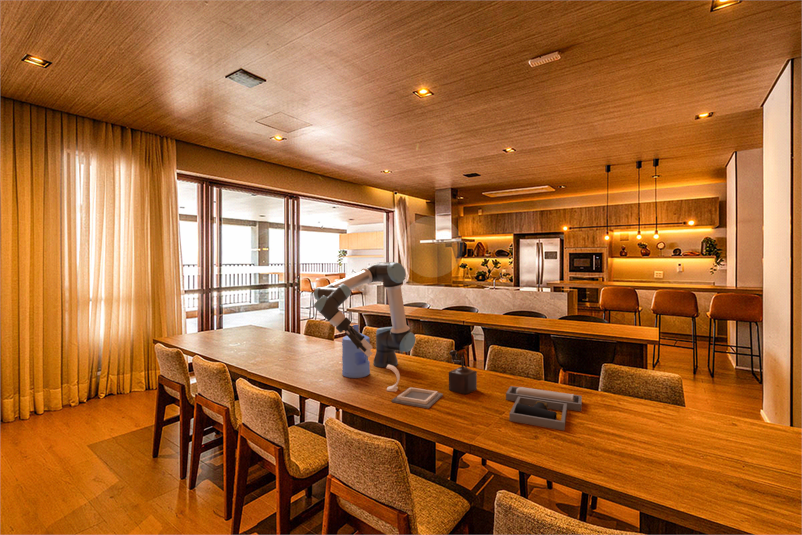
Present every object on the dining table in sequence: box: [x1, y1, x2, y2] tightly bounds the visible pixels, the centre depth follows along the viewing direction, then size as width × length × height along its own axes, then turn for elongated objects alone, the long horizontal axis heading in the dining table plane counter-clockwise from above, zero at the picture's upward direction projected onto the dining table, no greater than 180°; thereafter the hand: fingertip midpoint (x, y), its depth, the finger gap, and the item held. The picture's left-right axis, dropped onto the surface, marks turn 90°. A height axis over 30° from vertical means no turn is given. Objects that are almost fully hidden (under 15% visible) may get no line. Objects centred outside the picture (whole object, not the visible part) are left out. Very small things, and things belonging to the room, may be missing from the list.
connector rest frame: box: [508, 396, 568, 431], centre depth 155 cm, size 21×20×3 cm
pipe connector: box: [515, 401, 558, 420], centre depth 154 cm, size 12×5×15 cm
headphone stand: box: [385, 365, 401, 392], centre depth 188 cm, size 5×6×12 cm
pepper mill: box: [448, 349, 478, 395], centre depth 189 cm, size 16×11×18 cm
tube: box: [516, 386, 575, 402], centre depth 172 cm, size 5×5×25 cm
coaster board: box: [391, 386, 444, 409], centre depth 175 cm, size 18×18×2 cm
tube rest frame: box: [505, 385, 583, 412], centre depth 172 cm, size 11×31×3 cm, turn 64°
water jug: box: [341, 324, 371, 379], centre depth 214 cm, size 16×16×28 cm
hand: (370, 352), depth 186 cm, fingers open, 13 cm apart
